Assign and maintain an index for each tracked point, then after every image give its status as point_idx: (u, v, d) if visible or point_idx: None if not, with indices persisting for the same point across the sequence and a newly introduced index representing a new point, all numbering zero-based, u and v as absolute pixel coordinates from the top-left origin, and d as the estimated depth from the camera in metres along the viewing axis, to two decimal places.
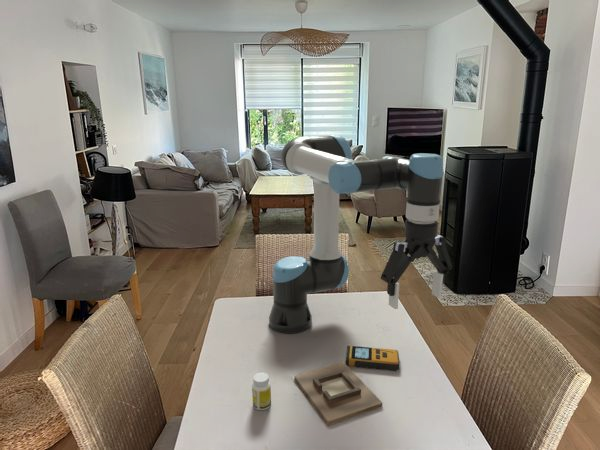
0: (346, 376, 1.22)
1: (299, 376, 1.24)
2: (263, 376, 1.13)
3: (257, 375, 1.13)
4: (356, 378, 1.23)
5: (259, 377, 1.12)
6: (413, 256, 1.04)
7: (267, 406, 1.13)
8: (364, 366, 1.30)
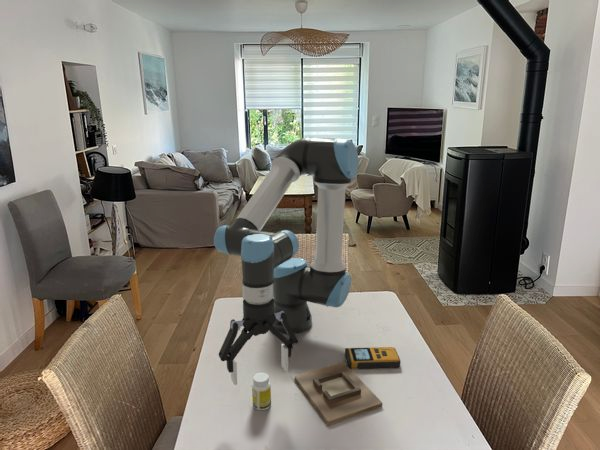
0: (346, 376, 1.22)
1: (299, 376, 1.24)
2: (263, 376, 1.13)
3: (257, 375, 1.13)
4: (356, 378, 1.23)
5: (259, 377, 1.12)
6: (249, 334, 1.05)
7: (267, 406, 1.13)
8: (367, 367, 1.29)
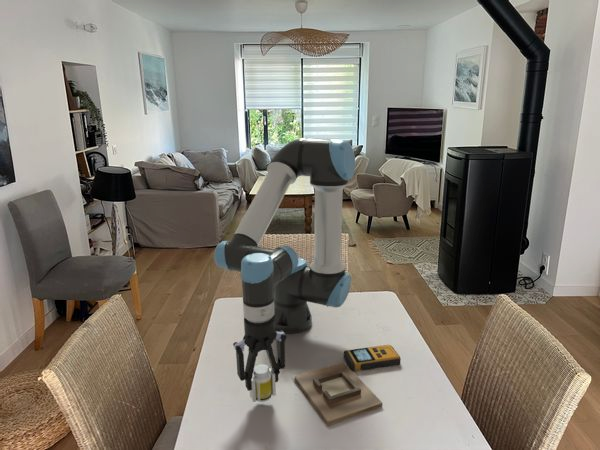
0: (346, 376, 1.22)
1: (299, 376, 1.24)
2: (264, 368, 1.12)
3: (257, 367, 1.13)
4: (356, 378, 1.23)
5: (259, 369, 1.12)
6: (254, 353, 1.08)
7: (267, 398, 1.13)
8: (369, 367, 1.29)
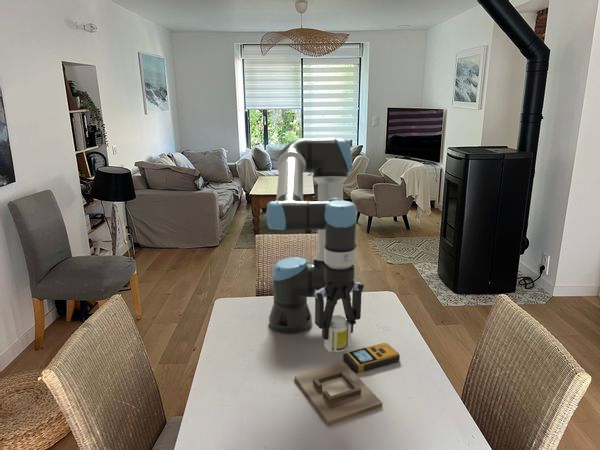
0: (346, 376, 1.22)
1: (299, 376, 1.24)
2: (340, 318, 1.13)
3: (334, 317, 1.14)
4: (356, 378, 1.23)
5: (336, 319, 1.13)
6: (334, 300, 1.09)
7: (343, 348, 1.13)
8: (372, 367, 1.29)
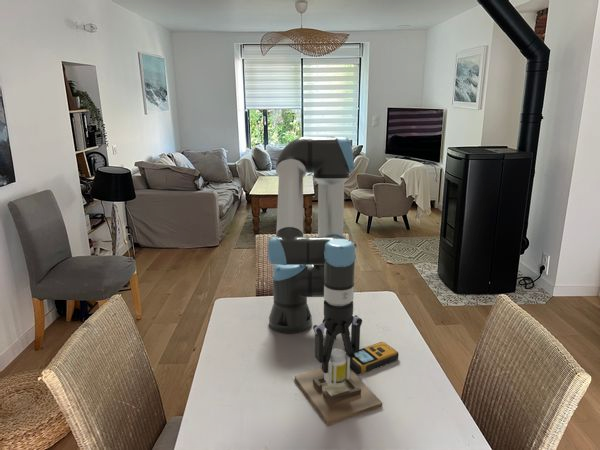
0: None
1: (299, 376, 1.24)
2: (339, 352, 1.16)
3: (333, 351, 1.16)
4: (356, 378, 1.23)
5: (335, 352, 1.16)
6: (333, 335, 1.12)
7: (342, 381, 1.16)
8: (374, 367, 1.29)
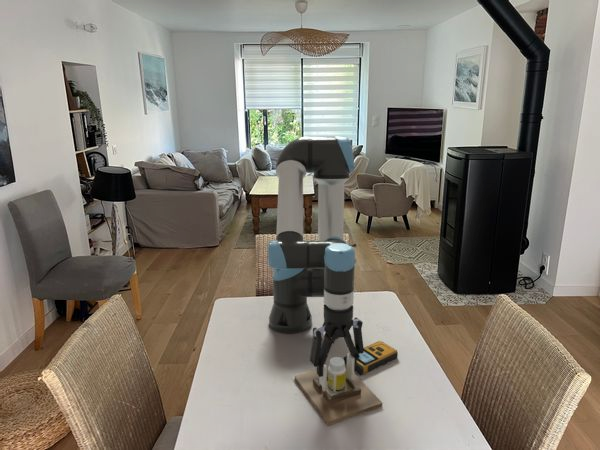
0: (346, 376, 1.22)
1: (299, 376, 1.24)
2: (339, 361, 1.17)
3: (333, 359, 1.17)
4: (356, 378, 1.23)
5: (335, 362, 1.16)
6: (332, 339, 1.12)
7: (342, 389, 1.17)
8: (375, 367, 1.29)
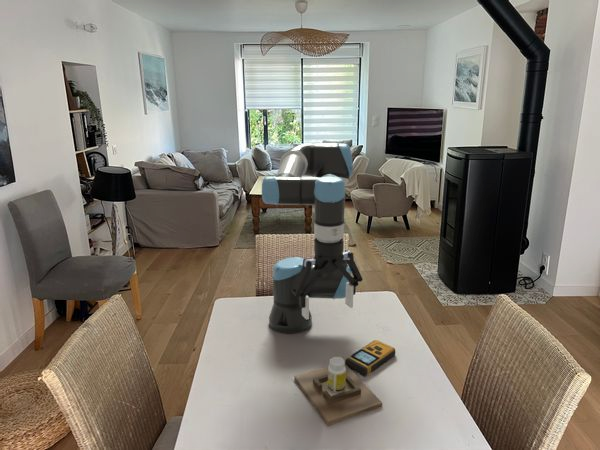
0: (346, 376, 1.22)
1: (299, 376, 1.24)
2: (339, 360, 1.17)
3: (333, 359, 1.17)
4: (356, 378, 1.23)
5: (335, 361, 1.16)
6: (321, 271, 1.12)
7: (342, 389, 1.17)
8: (377, 367, 1.29)
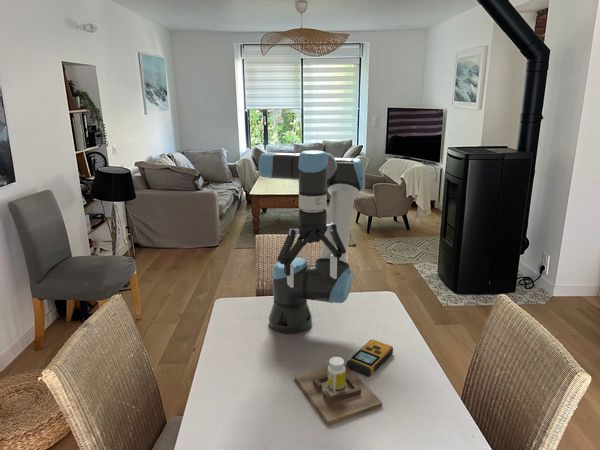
0: (346, 376, 1.22)
1: (299, 376, 1.24)
2: (339, 360, 1.17)
3: (333, 359, 1.17)
4: (356, 378, 1.23)
5: (335, 361, 1.17)
6: (305, 241, 1.18)
7: (342, 389, 1.17)
8: (379, 366, 1.29)
